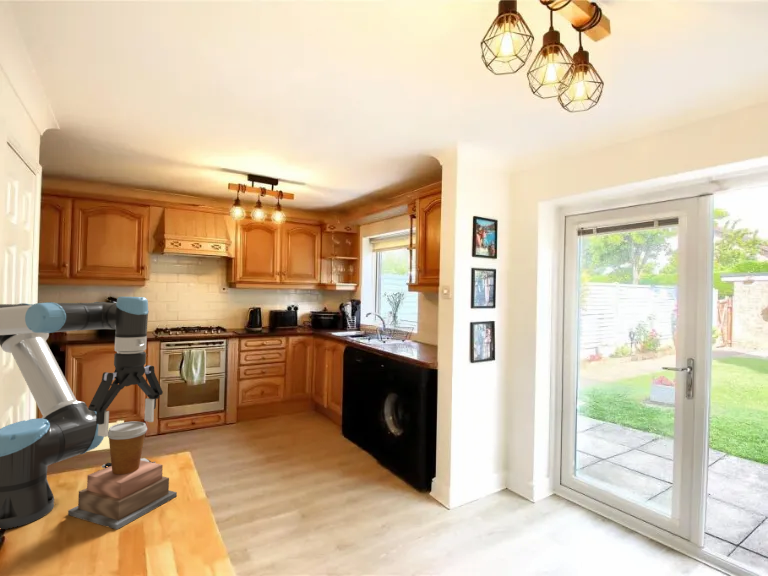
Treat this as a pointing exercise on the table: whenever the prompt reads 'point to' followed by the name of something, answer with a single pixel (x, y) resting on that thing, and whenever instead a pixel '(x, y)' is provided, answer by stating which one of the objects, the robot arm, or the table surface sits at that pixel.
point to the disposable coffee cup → (126, 446)
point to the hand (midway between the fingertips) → (127, 428)
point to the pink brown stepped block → (122, 495)
